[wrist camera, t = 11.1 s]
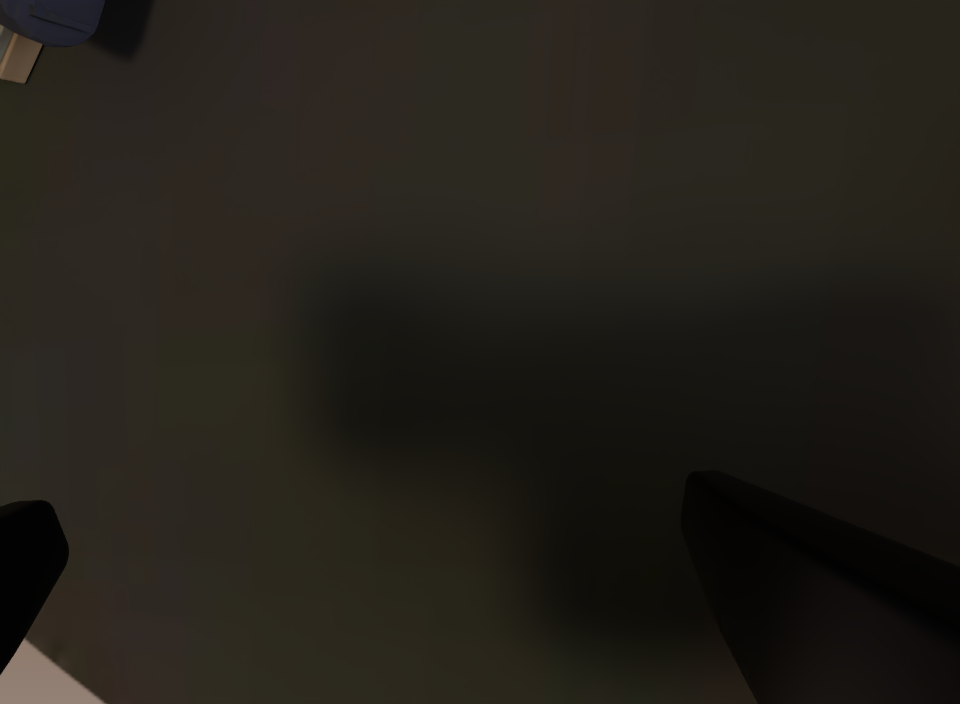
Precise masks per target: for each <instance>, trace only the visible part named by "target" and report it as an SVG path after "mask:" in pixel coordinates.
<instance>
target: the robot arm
mask: <svg viewBox="0 0 960 704" xmlns="http://www.w3.org/2000/svg"><path fill="white" fill-rule="evenodd" d="M681 529H682V534H683V537H684V540H685V543H686V545H687V548H688V551H689V553H690V556H691V559H692V561H693V564H694V567H695V569H696V572H697V575H698V577H699V580H700V583H701V585H702V588H703V591H704V593H705V596H706V599H707V601H708V604H709V607H710V609H711V612H712V614H713V617H714V619H715V621H716V623H717V625H718V627H719V629H720V632H721V634H722V636H723V638H724V639H725V641H726V643H727V645H728V647H729V649H730V651H731V653H732V655H733V657H734V659H735V661H736V663H737V665H738V666H739V668H740V670H741V672H742V674H743V676H744V678H745V680H746V682H747V684H748V686H749V688H750V690H751V691H752V693H753V695H754V697H755V699H756V701H757V703H758V704H960V567H959V566H957V565H954V564H952V563H949V562H947V561H944V560H941V559H939V558H936V557H934V556H931V555H929V554H926V553H924V552H921V551H919V550H916V549H914V548H911V547H909V546H906V545H904V544H901V543H899V542H896V541H894V540H891V539H889V538H886V537H884V536H881V535H878V534H876V533H873V532H871V531H868V530H866V529H863V528H861V527H858V526H856V525H853V524H851V523H848V522H846V521H843V520H841V519H838V518H836V517H833V516H831V515H828V514H826V513H823V512H821V511H818V510H816V509H813V508H810V507H808V506H805V505H803V504H800V503H798V502H795V501H793V500H790V499H788V498H785V497H783V496H780V495H778V494H775V493H773V492H770V491H768V490H765V489H763V488H760V487H758V486H755V485H753V484H750V483H748V482H745V481H742V480H740V479H737V478H735V477H732V476H730V475H727V474H725V473H722V472H720V471H715V470H710V471H693V472H691V473H690V474H689V475H688V477H687V479H686V485H685V492H684V499H683V506H682V513H681ZM68 556H69V547H68V543H67V540H66V538H65V535H64V533H63V530H62V528H61V525H60V523H59V520H58V518H57V515H56V513H55V510H54V508H53V506H52V505H51V504H50V503H49V502H47V501H44V500H35V501H18V502H13V503H10V504H7V505H4V506H1V507H0V675H1V673H2V672H3V670H4V669H5V667H6V666H7V664H8V663H9V662H10V660H11V658H12V657H13V656H14V654H15V652H16V651H17V649H18V647H19V646H20V644H21V642H22V641H23V639H24V637H25V636H26V634H27V632H28V630H29V629H30V627H31V625H32V624H33V622H34V620H35V618H36V617H37V615H38V613H39V611H40V610H41V608H42V606H43V605H44V603H45V601H46V599H47V598H48V596H49V594H50V592H51V591H52V589H53V587H54V585H55V584H56V582H57V580H58V579H59V577H60V575H61V573H62V572H63V570H64V568H65V566H66V564H67V560H68Z"/></svg>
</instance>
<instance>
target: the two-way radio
mask: <svg viewBox="0 0 960 704" xmlns="http://www.w3.org/2000/svg"><path fill="white" fill-rule="evenodd" d="M104 3H105V0H0V25H2V26H4V27H5V28H7V29H9V30H11V31H12V32H14V33H16V34H18V35H20V36H23V37H25V38H28V39H30V40H33V41H35V42H38V43H41V44H43V45H46V46H51V47H70V46H73V45H76V44H79V43H82V42H84V41H85V40H87V39H88V38H89V37H90V36H91V35H92V34H94V33H95V31H96V28H97V26H98V23H99V20H100V17H101V13H102V10H103V7H104Z"/></svg>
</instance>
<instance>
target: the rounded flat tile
mask: <svg viewBox="0 0 960 704" xmlns="http://www.w3.org/2000/svg"><path fill="white" fill-rule="evenodd" d="M42 45H43V44H41V43H38V42H35V41H33V40H30V39H28V38H25V37H23V36H20V35H18V34H16V33H14V32H12V31H11V30H9V29H7V28H5V27H4V26H2V25H0V79H3V80H8V81H13V82H18V83H22V84H24V83H25V82H26V80H27V78H28V76H29V74H30V71H31V69H32V67H33V65H34V63H35V60H36V58H37V56H38V54H39V52H40V49H41V47H42Z"/></svg>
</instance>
